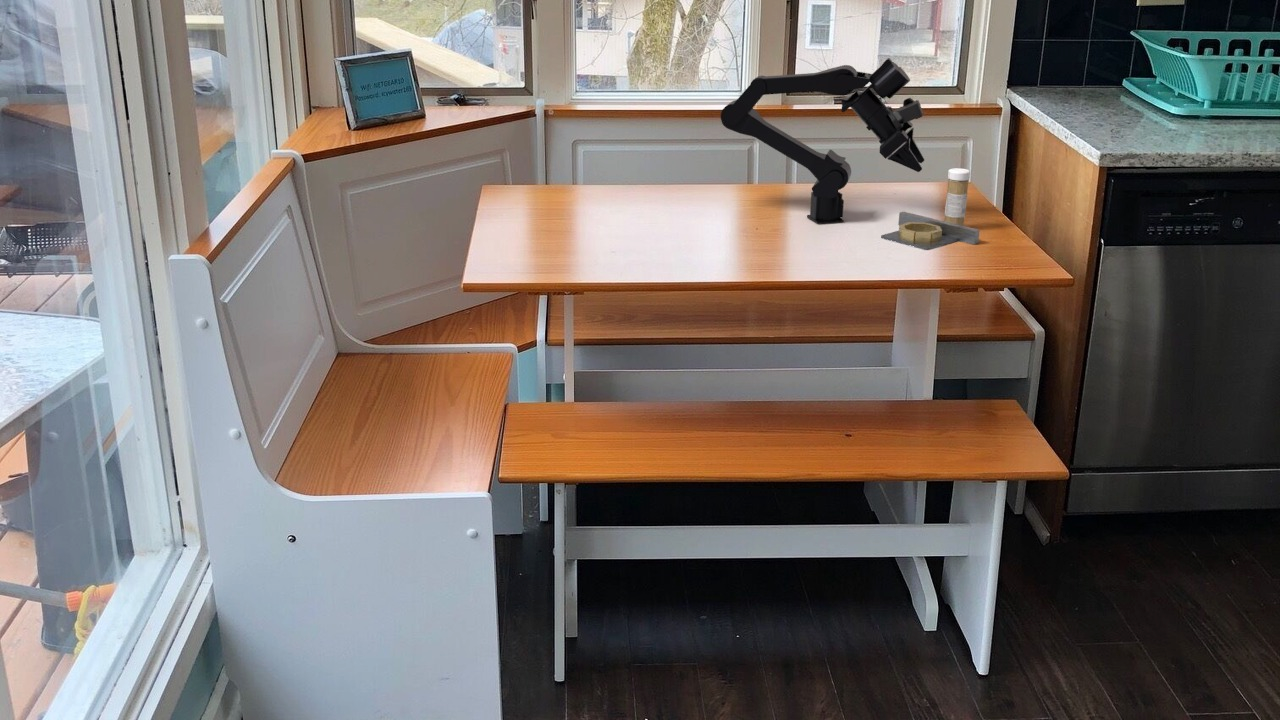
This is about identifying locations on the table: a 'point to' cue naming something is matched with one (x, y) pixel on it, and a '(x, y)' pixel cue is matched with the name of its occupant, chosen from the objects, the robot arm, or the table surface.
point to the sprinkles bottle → (956, 195)
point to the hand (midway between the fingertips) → (921, 166)
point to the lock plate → (930, 232)
